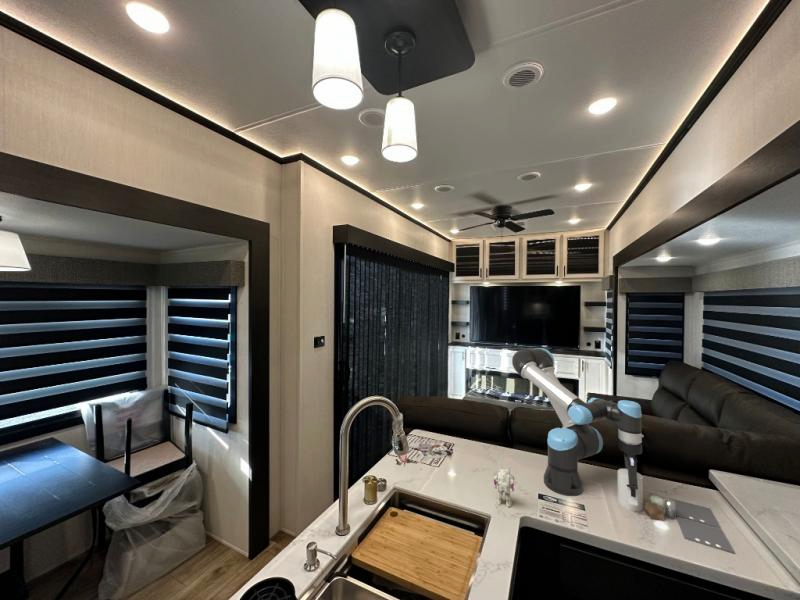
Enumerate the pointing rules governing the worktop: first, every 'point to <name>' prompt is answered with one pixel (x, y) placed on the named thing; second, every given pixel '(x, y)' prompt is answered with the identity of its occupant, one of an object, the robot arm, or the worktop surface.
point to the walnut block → (654, 511)
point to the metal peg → (669, 508)
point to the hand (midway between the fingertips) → (631, 494)
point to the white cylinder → (623, 490)
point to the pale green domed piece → (657, 501)
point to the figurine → (503, 485)
